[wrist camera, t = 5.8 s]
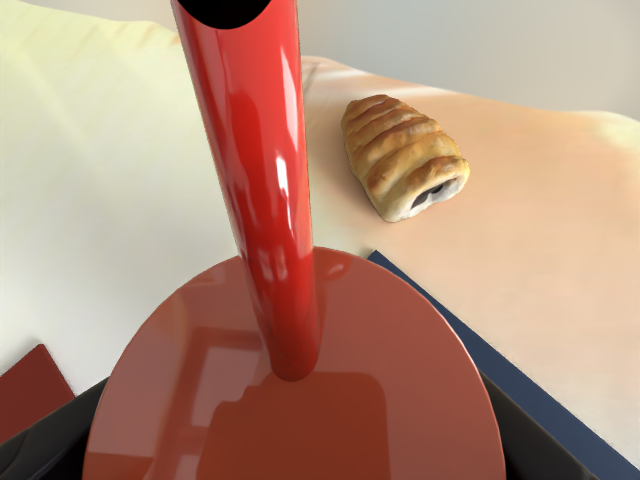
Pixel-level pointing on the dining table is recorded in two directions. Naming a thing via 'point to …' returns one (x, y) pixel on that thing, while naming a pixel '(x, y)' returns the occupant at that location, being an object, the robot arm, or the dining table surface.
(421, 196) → the pastry
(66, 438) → the robot arm
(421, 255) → the dining table surface
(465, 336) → the blue mat
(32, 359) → the red mat
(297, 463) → the red spoon pot
